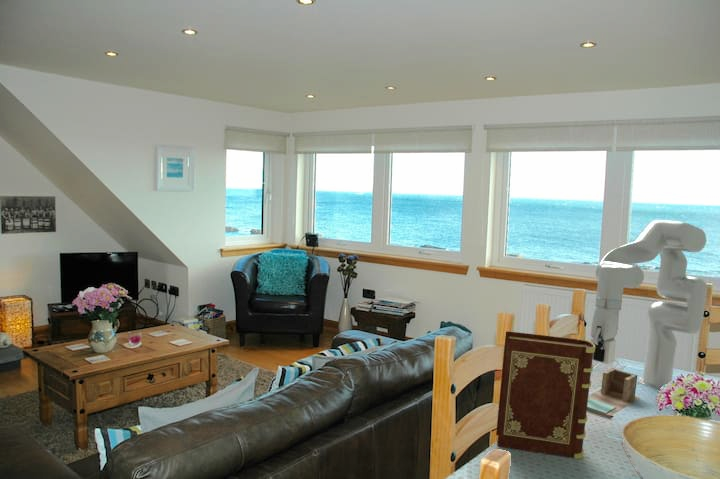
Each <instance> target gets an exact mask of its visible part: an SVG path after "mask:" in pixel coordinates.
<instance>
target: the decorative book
mask: <svg viewBox="0 0 720 479" xmlns="http://www.w3.org/2000/svg"><path fill="white" fill-rule="evenodd" d="M504 337H505V338H504V348H503V358H502V359H503V360H502V369H501V370H502V371H501V380H500V390H499V401H498V409H497V410H498V412H497V422H496V431H495V432H496V433H495V436H497V447H500V448H506V449H510V450H511V449H513V450H519V451H525V452H531V453H538V454H544V455H550V456H557V457H558V456H559V457H564V458H565V457H566V458H573V459H576V460H581V459H582V458H583V457H584V454H585V452H584V451H585V449H584V440H585V437H586V433H587V432H586V429H585V428H586V423H587V421H588V415H587V412H588V411H587V403H588V395H590V394H589V392H590V388H591V386H592V381H591V376H592V372H593V370H594V365H593V360H592V359H593V352H595V345H594V344H593V343H592V342H591V340H586V339H577V338H570V337H569V338H568V337H559V336H553V335H552V336H550V335H544V334H543V335H542V334H534V333H525V332H516V331H505V336H504Z"/></svg>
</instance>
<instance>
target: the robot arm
mask: <svg viewBox="0 0 720 479" xmlns="http://www.w3.org/2000/svg"><path fill="white" fill-rule="evenodd" d="M706 244H707V235H706V233H705V231H704V230H703V229H702V228H700V227H698V226H695V225H693V224H691V223H687V222H684V221H683V222H682V221H674V220H662V219H655V220H653V221H650V222H649V223H648V224H647V225H646V226H645V227H644V229H643V230H642V231H641V232H640V233H639V235H638V236H637V237H636V238H635V240H634V241H633V242H629V243H627V244H624V245H621V246H619V247H616V248H613V249H612V250H610V251H608V252H607V254H605V256H603V257H602V259H601V260H600V261H599V263H598V264H597V267H596V268H595V277H596V279H597V289H596V298H595V304H594V306H595V310H594V313H593V316H592V322H591V330H590V338H593V342H594V345H595V352H594V354H593V359H594V360H597V361H596V362H598V361H600V362H599V363H601V362H603V361H604V354H605V350H604V346H605V341H606V340H609V339H613V340H615V337H617V335H618V330H619V322H620V321H619V320H620V319H619V317H620V311H622V304H623V294H624V289H625V288H626V289H636V288H639V287H640V286H641V285H642V283H643V282H644V279H645V274H644V271H643V270H642V268H640V267H639V266H637V265H636V264H642V263H648V262H651V261H653V260H655V259H656V258H657V256H658V255H659V257H660V258H659V259H660V261H659V262H660V265H659V270H658V277H657V283H656V293H657V295H658V296H659V297H661V298H663V299H668V300H672V301H677V302H682V303H686V305H681V304H677V303H673V302H666V301H655V302H652V303H651V304H650V305H649V306H648V309H647V325H648V329H647V330H648V331H647V339H646V340H647V341H646V349H645V357H644V365H643V366H644V367H643V372H642V373H643V374H642V376H641V377H639V378H638V377H637V383H638V385H642V386H647V387H649V388H653V389H656V390H659V389H660V388H661V387H662V386H663V385H665V384H668V383H669V382H671V381H672V382H673V374H674V368H675V360H676V352H677V343H678V342H677V338H676V335H675V334H674V332H678V333H683V334H688V335H696V334H698V333H699V332H700V330H701V329H702V325H703V320H704V315H705V314H704V313H705V308H706V303H707V296H708V287H707V283H706V282H705V280H704V279H702V278H700V277H696V276H690V275H689V276H688V275H687V267H688V260H687V257H686V256H685V253H684V252H687V253H699V252H701V251H702V250H703V249H704V248H705V246H706ZM634 264H635V265H634ZM600 337H603V338H602V339H599V338H600ZM599 341H602V344H601V342H599ZM594 360H593V361H594Z"/></svg>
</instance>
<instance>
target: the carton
mask: <svg viewBox="0 0 720 479" xmlns="http://www.w3.org/2000/svg"><path fill="white" fill-rule="evenodd" d="M602 338H603V337H600V338H599V339H602ZM590 342H592V343H593V344H594V342H593V338H592V337H590ZM599 342H601V344H602V341H599ZM616 346H617V340H616V339H614V340H613V339H609V340H606V341H605V346H604V350H605V354H604V361H603V362H600V361H597V360H594V359H592V361H595V362H598V363H600V364H601V363H602V364H605V365H606V364H607V365H609V364H611V363H613V362H615V357H616V356H615V355H616V348H617V347H616ZM593 354H594V352H593Z"/></svg>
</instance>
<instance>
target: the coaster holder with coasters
mask: <svg viewBox="0 0 720 479" xmlns="http://www.w3.org/2000/svg"><path fill="white" fill-rule="evenodd" d="M637 383H638V374H633V373H631V372H627V371H623V370H619V369H616V368H614V367H612V368H611V369H608V370H605V371H603V373H602V380H601V389H599V390H597V391H594V392H592V393H591V394H589V395H588V403H587V412H589V413H593V414H596V415H598V416H601V417H604V418H607V419H612V418H614V414H616V413H618V412H619V411H621V410H622V409H623V410H624V408H626V407H628V406H630V405H631V404H633V403H635V402H636V401H638V400H640V399H641V397H640V396H637V395H636V389H637Z"/></svg>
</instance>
